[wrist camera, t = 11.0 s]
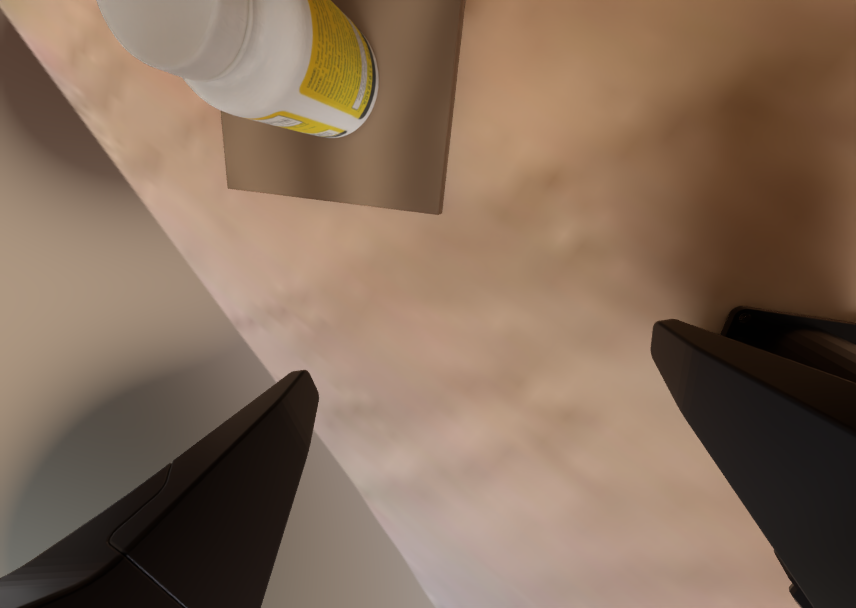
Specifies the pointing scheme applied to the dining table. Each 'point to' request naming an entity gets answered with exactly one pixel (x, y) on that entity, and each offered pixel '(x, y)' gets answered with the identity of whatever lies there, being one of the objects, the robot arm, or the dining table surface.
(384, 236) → the dining table surface
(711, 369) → the robot arm
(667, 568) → the dining table surface
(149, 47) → the supplement bottle
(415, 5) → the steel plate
